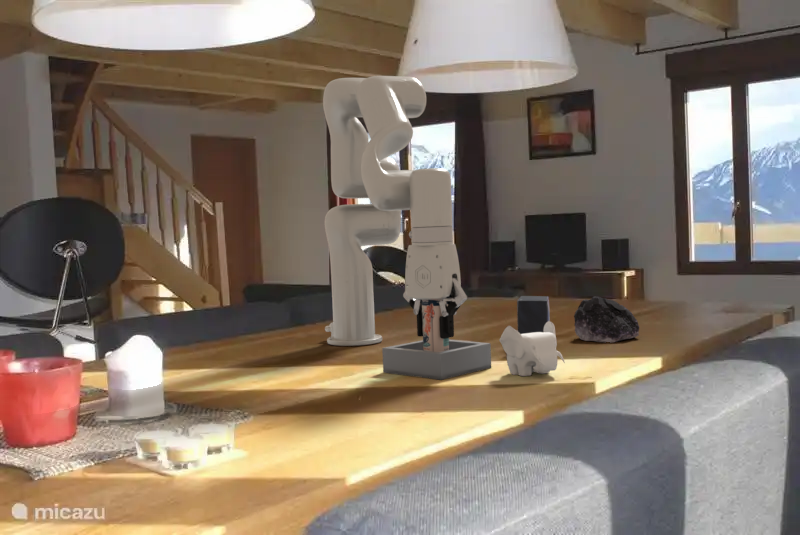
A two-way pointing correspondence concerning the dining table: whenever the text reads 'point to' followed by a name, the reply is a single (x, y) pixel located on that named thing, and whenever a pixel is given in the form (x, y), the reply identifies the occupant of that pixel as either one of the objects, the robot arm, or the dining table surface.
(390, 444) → the dining table surface
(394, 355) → the tray
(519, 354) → the elephant figurine
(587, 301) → the crystal cluster
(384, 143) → the robot arm
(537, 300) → the small box
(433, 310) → the beer can
